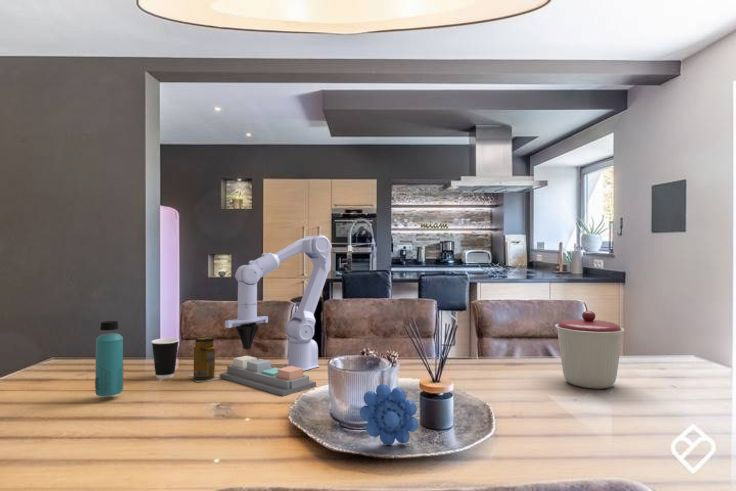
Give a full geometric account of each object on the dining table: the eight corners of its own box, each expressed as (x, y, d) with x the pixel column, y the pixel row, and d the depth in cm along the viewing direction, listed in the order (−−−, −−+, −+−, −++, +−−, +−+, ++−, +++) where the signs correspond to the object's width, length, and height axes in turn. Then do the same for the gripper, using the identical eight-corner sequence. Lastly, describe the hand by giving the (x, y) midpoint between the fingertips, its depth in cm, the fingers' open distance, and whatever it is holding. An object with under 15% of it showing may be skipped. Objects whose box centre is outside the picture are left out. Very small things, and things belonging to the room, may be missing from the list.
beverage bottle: (129, 396, 122) (129, 320, 122) (105, 404, 116) (106, 323, 116) (112, 393, 124) (113, 318, 125) (88, 400, 118) (89, 321, 119)
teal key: (275, 375, 137) (275, 367, 137) (286, 378, 134) (286, 370, 134) (261, 379, 134) (261, 370, 134) (272, 382, 130) (272, 373, 130)
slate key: (260, 366, 142) (260, 358, 142) (271, 369, 139) (271, 361, 139) (246, 369, 138) (246, 361, 138) (257, 372, 135) (257, 364, 135)
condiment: (211, 373, 146) (212, 335, 146) (221, 379, 139) (221, 339, 139) (187, 377, 141) (188, 337, 142) (196, 383, 135) (196, 341, 135)
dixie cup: (184, 373, 145) (184, 338, 145) (168, 380, 137) (169, 343, 137) (161, 372, 146) (161, 337, 147) (144, 379, 139) (145, 342, 139)
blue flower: (361, 456, 86) (361, 391, 86) (358, 441, 93) (358, 381, 93) (423, 453, 87) (423, 389, 88) (415, 439, 94) (415, 379, 94)
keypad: (252, 369, 150) (252, 360, 150) (315, 386, 132) (316, 374, 132) (220, 377, 141) (220, 366, 141) (283, 396, 122) (283, 384, 122)
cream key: (246, 363, 146) (246, 355, 146) (256, 365, 143) (256, 357, 143) (233, 366, 142) (233, 358, 143) (242, 368, 139) (242, 360, 139)
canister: (609, 397, 121) (608, 316, 122) (543, 383, 135) (543, 310, 135) (635, 385, 133) (634, 311, 134) (572, 372, 147) (572, 306, 147)
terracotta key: (291, 374, 133) (291, 365, 133) (303, 377, 130) (303, 368, 130) (277, 377, 129) (277, 369, 129) (289, 381, 126) (289, 372, 126)
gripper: (258, 301, 151) (257, 343, 150) (219, 305, 139) (218, 350, 139) (272, 302, 146) (272, 346, 146) (233, 306, 135) (232, 353, 135)
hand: (247, 348), depth 142 cm, fingers closed
